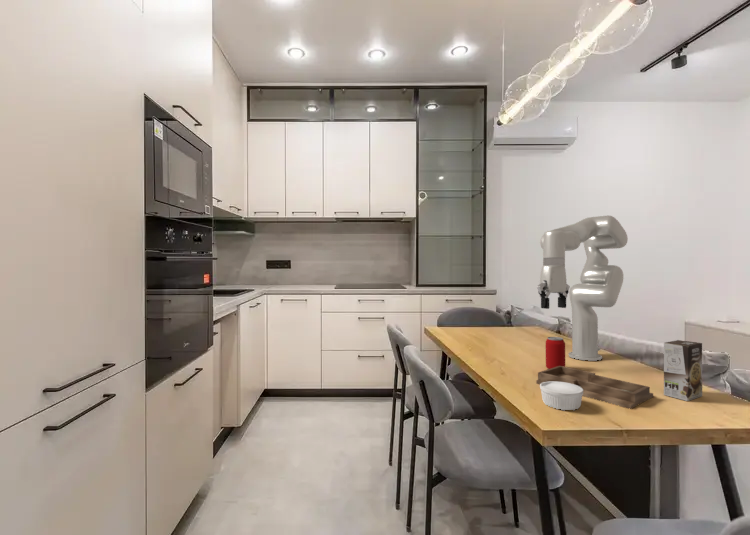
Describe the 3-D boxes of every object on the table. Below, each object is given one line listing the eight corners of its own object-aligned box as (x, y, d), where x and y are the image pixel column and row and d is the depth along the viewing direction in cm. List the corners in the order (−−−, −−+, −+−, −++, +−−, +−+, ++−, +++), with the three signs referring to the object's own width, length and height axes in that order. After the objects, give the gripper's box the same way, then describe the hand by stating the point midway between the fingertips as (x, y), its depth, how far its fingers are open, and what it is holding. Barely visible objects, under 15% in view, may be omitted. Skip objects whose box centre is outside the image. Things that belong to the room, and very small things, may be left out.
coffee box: (688, 401, 107) (688, 346, 107) (662, 395, 113) (662, 342, 113) (703, 396, 111) (703, 342, 111) (678, 390, 117) (677, 339, 117)
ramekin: (548, 395, 114) (548, 378, 114) (589, 404, 106) (588, 386, 106) (533, 405, 106) (533, 386, 106) (575, 416, 98) (575, 396, 98)
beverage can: (561, 367, 144) (560, 336, 144) (568, 372, 138) (568, 339, 138) (543, 366, 145) (542, 336, 145) (549, 371, 138) (549, 339, 138)
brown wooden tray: (536, 383, 125) (536, 372, 125) (561, 374, 134) (561, 365, 134) (630, 408, 102) (630, 396, 102) (653, 396, 112) (653, 385, 111)
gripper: (559, 263, 149) (559, 306, 149) (530, 262, 141) (529, 307, 141) (577, 263, 142) (577, 308, 142) (547, 262, 134) (547, 309, 134)
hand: (553, 308), depth 141 cm, fingers open, 9 cm apart
